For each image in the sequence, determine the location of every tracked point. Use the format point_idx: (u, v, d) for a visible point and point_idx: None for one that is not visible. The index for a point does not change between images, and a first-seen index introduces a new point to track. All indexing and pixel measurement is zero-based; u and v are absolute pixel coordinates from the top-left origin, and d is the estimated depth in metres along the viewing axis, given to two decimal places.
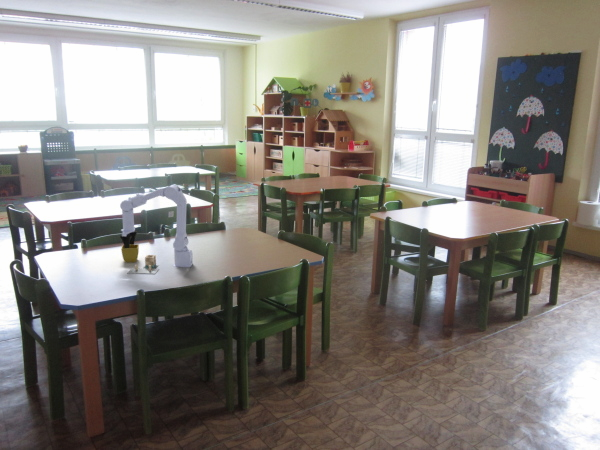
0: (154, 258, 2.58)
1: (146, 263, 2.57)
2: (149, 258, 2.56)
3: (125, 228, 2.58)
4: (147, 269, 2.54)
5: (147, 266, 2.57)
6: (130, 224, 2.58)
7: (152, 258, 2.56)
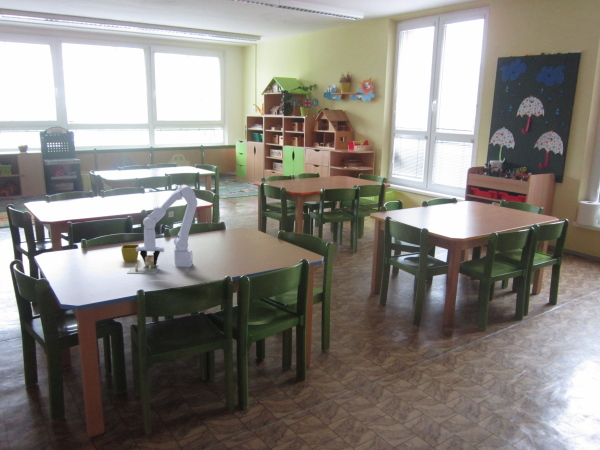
0: None
1: (146, 263, 2.57)
2: (149, 258, 2.56)
3: None
4: (147, 269, 2.54)
5: (147, 266, 2.57)
6: (144, 242, 2.54)
7: (152, 258, 2.56)
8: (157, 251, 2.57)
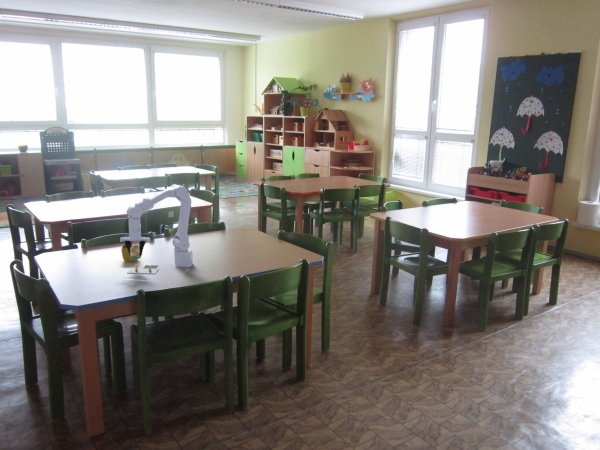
0: None
1: (131, 254, 2.47)
2: (134, 248, 2.47)
3: None
4: (147, 269, 2.54)
5: (132, 257, 2.47)
6: (129, 232, 2.45)
7: (138, 248, 2.47)
8: (143, 241, 2.48)
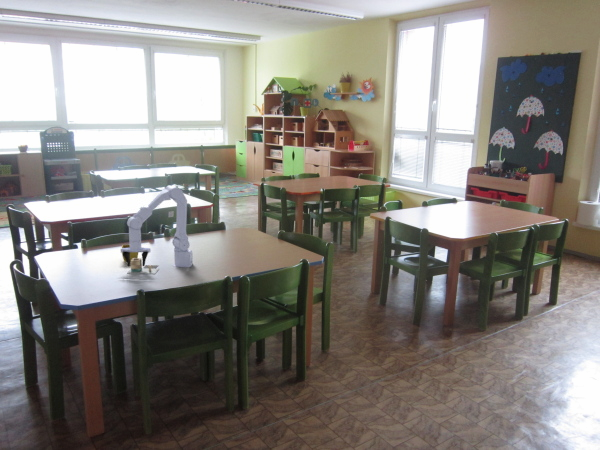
0: (140, 261, 2.50)
1: (132, 267, 2.48)
2: (135, 261, 2.48)
3: None
4: (147, 269, 2.54)
5: (133, 270, 2.49)
6: (130, 243, 2.46)
7: (138, 261, 2.48)
8: (143, 252, 2.49)
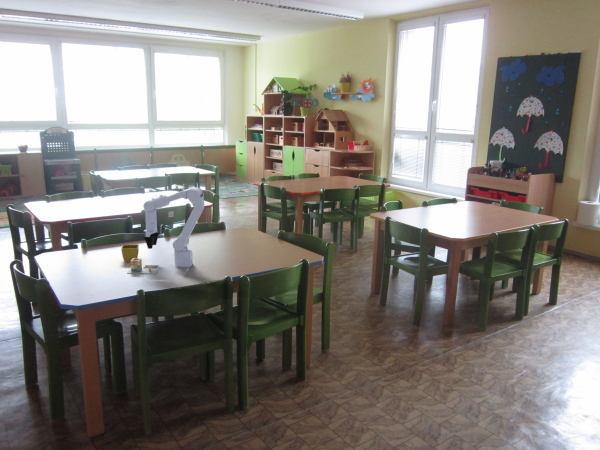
0: (140, 261, 2.50)
1: (132, 267, 2.48)
2: (135, 261, 2.48)
3: (148, 229, 2.59)
4: (147, 269, 2.54)
5: (133, 270, 2.49)
6: (153, 225, 2.59)
7: (138, 261, 2.48)
8: None
